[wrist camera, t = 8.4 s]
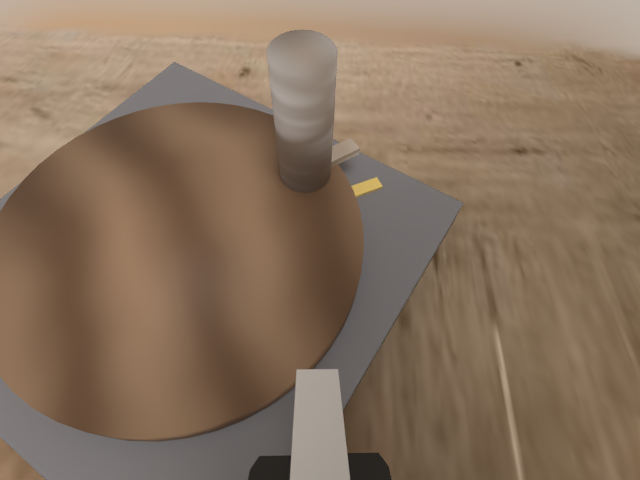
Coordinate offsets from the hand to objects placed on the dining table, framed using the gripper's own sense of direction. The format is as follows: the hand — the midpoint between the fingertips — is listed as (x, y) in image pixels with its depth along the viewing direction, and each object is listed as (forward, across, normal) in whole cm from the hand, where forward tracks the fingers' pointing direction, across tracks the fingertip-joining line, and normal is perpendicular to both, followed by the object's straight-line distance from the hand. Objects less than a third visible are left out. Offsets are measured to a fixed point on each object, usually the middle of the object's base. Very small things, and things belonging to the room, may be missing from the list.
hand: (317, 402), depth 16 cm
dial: (+10, -7, +3) cm, 13 cm away
